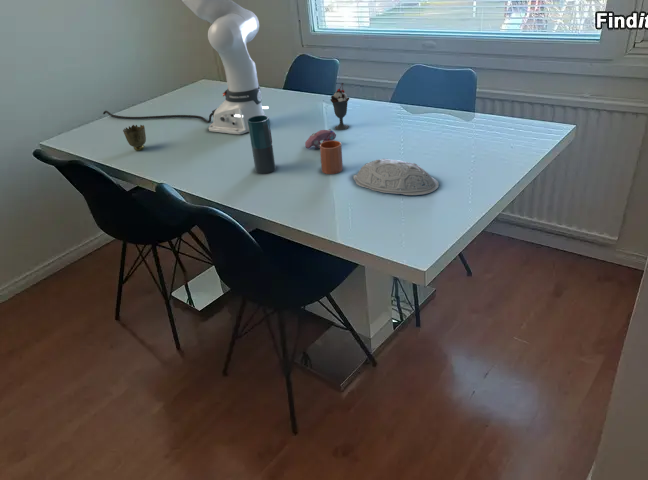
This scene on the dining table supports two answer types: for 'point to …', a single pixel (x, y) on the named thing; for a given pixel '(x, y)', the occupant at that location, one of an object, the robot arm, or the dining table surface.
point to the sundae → (340, 107)
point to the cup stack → (261, 144)
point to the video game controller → (320, 138)
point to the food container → (395, 177)
